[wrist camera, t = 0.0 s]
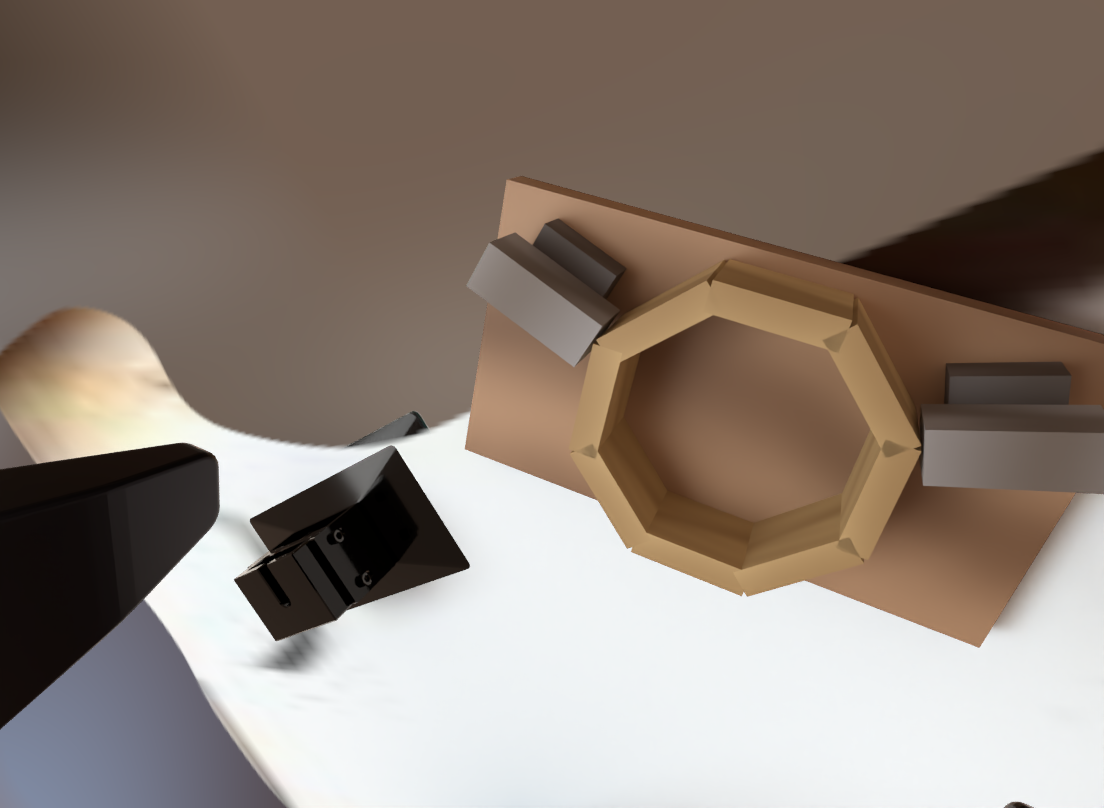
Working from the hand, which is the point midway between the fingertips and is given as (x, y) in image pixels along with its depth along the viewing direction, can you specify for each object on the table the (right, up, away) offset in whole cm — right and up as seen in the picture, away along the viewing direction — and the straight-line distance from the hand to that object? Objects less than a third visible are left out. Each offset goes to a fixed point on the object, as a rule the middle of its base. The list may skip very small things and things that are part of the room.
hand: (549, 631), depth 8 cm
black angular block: (-8, -3, +23) cm, 24 cm away
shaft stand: (+6, +3, +14) cm, 15 cm away
